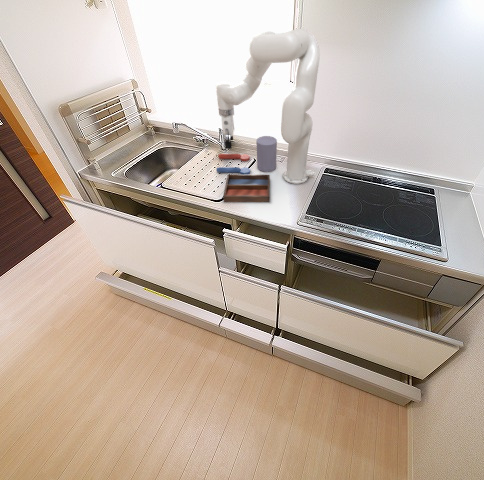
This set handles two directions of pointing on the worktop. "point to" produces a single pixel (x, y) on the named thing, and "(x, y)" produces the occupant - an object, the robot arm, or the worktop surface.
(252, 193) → the cutlery tray
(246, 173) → the blue spoon
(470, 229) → the worktop surface
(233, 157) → the red spoon
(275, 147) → the container
